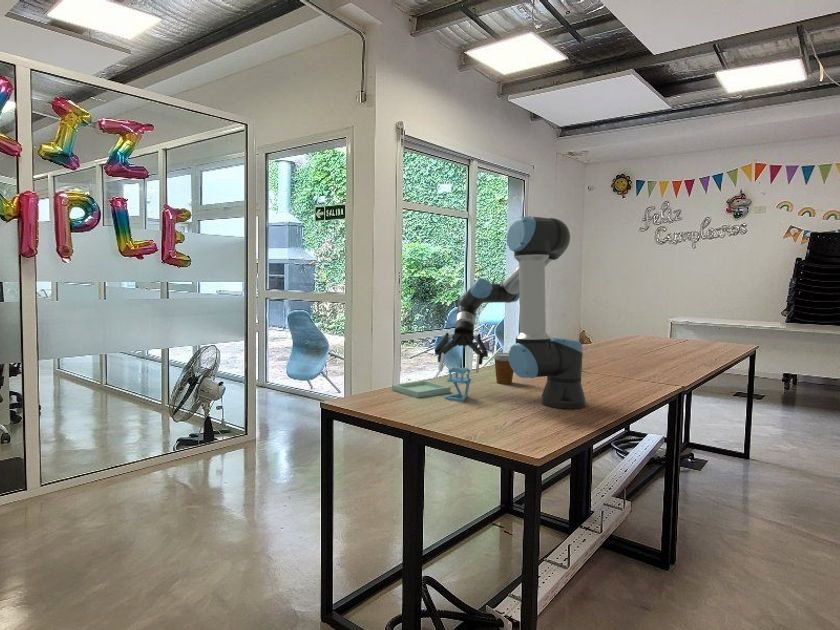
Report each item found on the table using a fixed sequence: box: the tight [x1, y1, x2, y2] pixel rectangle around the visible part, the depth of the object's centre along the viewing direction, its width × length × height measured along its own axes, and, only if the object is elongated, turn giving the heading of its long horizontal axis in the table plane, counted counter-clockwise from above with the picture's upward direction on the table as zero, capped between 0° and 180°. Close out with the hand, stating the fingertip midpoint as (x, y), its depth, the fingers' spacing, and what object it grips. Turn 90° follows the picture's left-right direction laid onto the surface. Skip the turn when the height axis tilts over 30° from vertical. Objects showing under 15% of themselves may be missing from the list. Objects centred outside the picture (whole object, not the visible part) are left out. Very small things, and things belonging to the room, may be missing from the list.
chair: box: [444, 365, 472, 402], centre depth 201 cm, size 8×8×12 cm
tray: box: [391, 379, 452, 399], centre depth 212 cm, size 16×16×2 cm
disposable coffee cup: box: [492, 352, 515, 385], centre depth 231 cm, size 10×10×12 cm
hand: (458, 370), depth 206 cm, fingers open, 13 cm apart
